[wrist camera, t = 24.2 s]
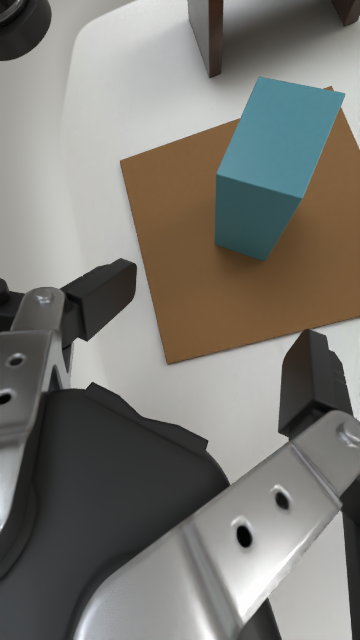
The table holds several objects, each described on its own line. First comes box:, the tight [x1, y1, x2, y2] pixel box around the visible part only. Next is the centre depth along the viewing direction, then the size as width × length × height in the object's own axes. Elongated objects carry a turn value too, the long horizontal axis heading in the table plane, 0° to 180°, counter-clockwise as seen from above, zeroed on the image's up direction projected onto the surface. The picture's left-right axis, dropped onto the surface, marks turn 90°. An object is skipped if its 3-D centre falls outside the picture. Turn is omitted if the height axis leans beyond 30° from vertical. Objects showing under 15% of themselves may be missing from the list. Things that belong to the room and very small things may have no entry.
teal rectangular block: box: [215, 77, 345, 261], centre depth 15 cm, size 4×6×8 cm
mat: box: [120, 86, 360, 364], centre depth 20 cm, size 20×20×1 cm
